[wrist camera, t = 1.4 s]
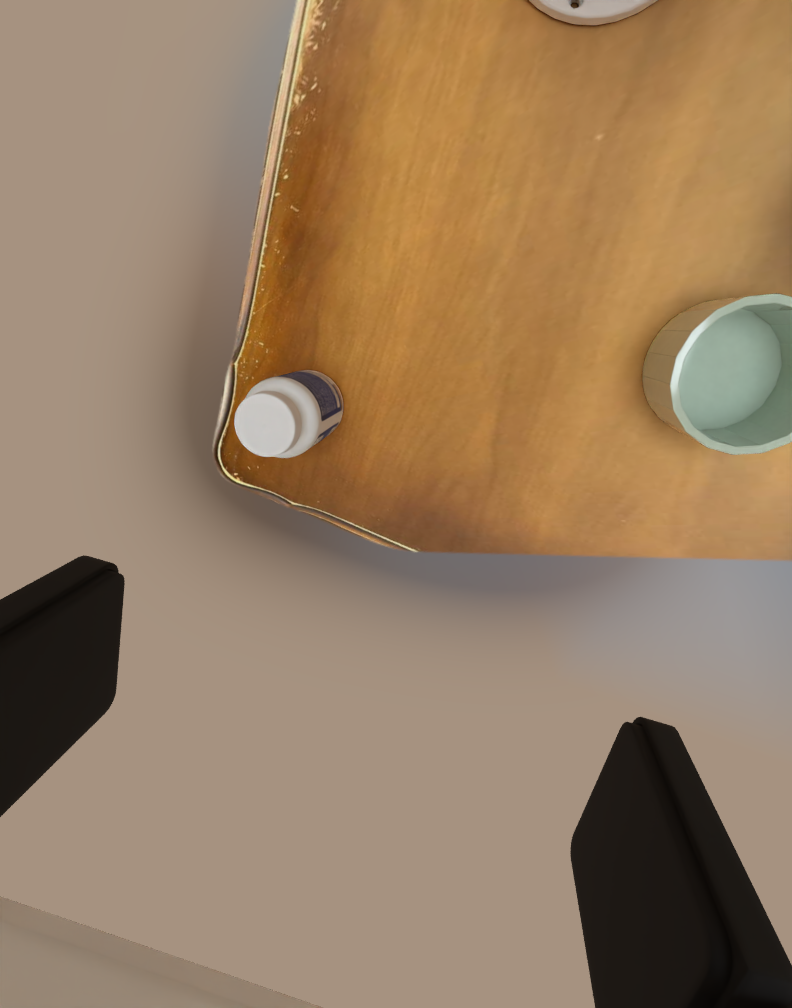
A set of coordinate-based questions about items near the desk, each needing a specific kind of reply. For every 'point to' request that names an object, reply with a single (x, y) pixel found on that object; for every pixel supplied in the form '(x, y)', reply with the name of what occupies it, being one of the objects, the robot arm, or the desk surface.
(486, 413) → the desk surface
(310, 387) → the pill bottle
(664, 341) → the open cylindrical container
